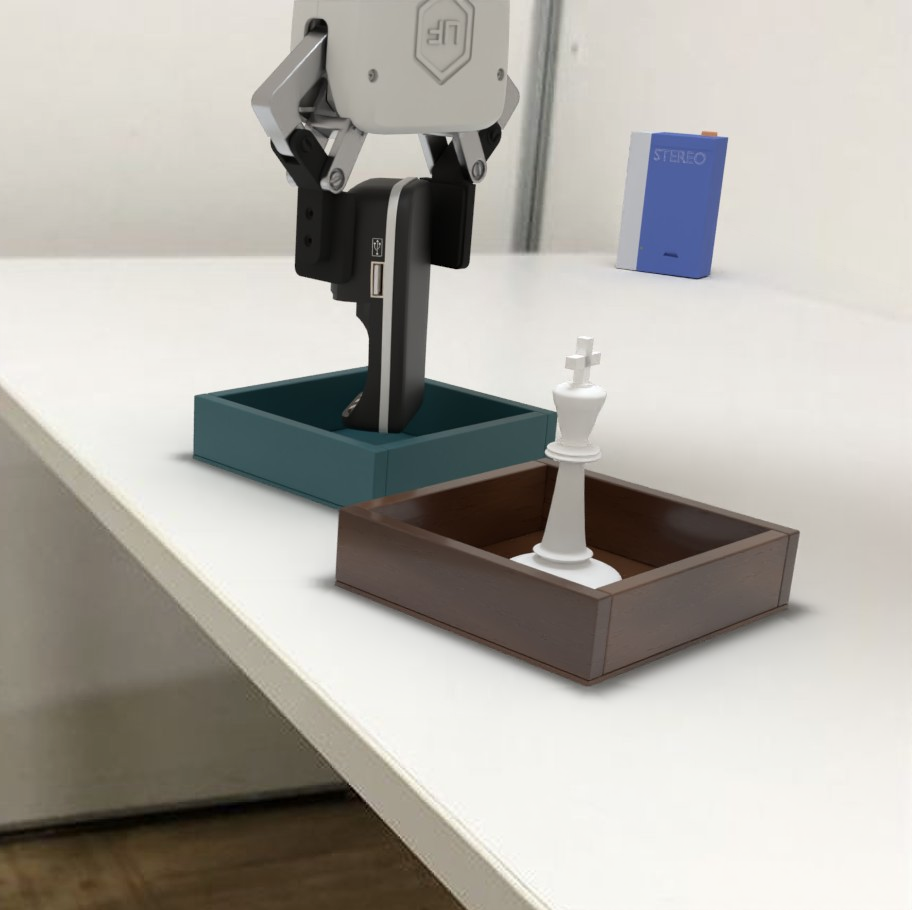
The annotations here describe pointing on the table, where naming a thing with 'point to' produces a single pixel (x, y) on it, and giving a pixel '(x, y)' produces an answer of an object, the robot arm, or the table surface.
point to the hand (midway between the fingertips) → (383, 269)
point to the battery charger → (390, 299)
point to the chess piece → (572, 478)
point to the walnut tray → (557, 599)
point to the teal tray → (362, 437)
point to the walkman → (671, 202)
